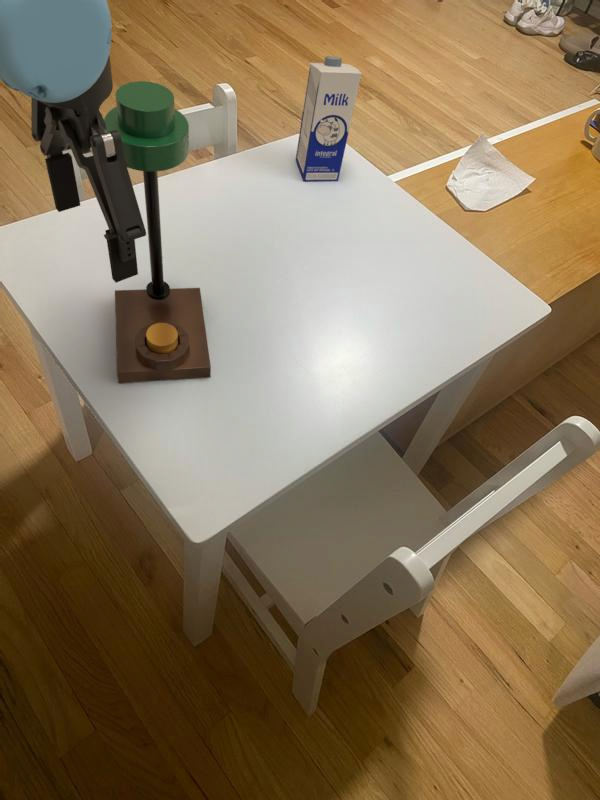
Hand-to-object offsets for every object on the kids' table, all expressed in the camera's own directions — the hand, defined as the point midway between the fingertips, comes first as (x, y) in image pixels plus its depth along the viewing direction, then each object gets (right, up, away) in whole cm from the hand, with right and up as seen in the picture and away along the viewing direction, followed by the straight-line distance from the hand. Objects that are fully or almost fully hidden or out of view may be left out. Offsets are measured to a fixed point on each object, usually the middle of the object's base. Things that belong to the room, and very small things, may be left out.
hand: (95, 240), depth 69 cm
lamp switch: (+5, -11, +11) cm, 16 cm away
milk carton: (+26, +25, +45) cm, 58 cm away
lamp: (+3, -2, +16) cm, 16 cm away
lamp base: (+4, -9, +16) cm, 19 cm away
